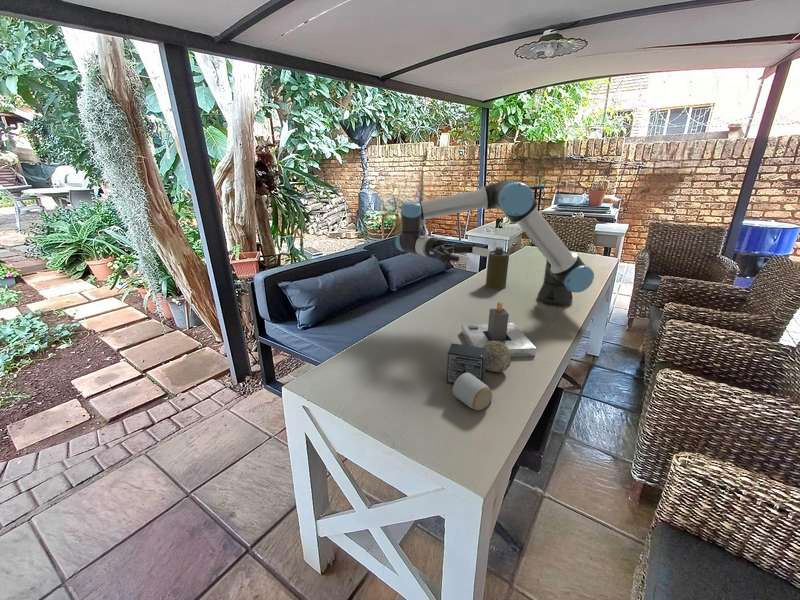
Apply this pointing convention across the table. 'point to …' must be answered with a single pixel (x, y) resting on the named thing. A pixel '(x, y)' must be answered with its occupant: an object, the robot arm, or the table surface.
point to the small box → (465, 362)
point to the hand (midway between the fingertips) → (478, 256)
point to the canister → (497, 269)
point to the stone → (497, 356)
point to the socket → (514, 341)
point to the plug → (497, 324)
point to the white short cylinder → (472, 391)
